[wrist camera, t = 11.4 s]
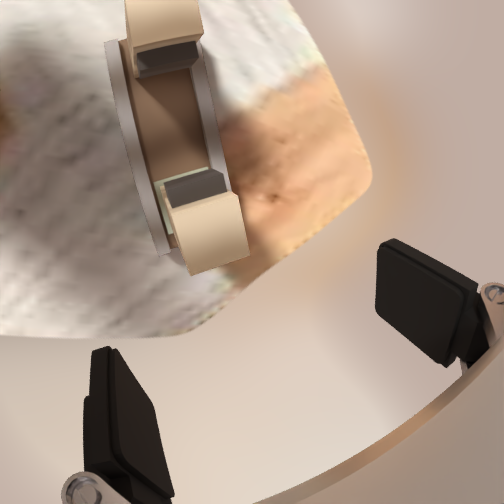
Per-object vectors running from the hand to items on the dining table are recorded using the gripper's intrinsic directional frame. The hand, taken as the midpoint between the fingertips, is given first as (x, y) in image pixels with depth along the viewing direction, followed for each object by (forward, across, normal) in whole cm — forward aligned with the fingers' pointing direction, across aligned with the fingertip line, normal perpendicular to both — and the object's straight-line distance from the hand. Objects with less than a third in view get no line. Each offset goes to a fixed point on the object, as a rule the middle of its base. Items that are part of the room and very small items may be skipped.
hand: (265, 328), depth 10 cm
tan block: (+20, -1, 0) cm, 20 cm away
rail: (+22, -1, -6) cm, 23 cm away
